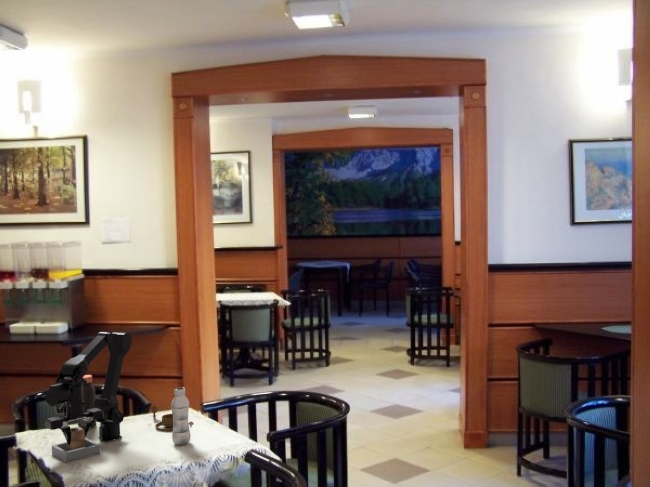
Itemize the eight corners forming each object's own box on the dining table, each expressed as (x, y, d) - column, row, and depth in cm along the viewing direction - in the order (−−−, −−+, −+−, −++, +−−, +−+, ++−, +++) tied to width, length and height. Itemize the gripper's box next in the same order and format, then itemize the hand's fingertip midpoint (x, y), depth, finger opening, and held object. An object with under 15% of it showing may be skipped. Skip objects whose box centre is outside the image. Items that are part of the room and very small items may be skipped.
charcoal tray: (85, 445, 247) (85, 437, 247) (100, 453, 238) (100, 445, 238) (52, 453, 239) (51, 445, 239) (66, 462, 230) (65, 453, 230)
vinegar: (89, 423, 274) (87, 373, 273) (100, 425, 270) (98, 375, 269) (74, 427, 268) (72, 377, 267) (85, 430, 264) (83, 379, 264)
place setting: (146, 435, 259) (145, 419, 259) (149, 419, 279) (149, 405, 279) (193, 431, 263) (193, 416, 262) (193, 416, 282) (193, 402, 282)
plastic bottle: (194, 442, 248) (192, 387, 247) (183, 448, 242) (181, 392, 241) (179, 440, 251) (178, 385, 250) (168, 445, 245) (166, 390, 244)
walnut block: (79, 443, 242) (78, 426, 241) (85, 446, 238) (84, 428, 238) (66, 446, 239) (66, 429, 238) (72, 449, 235) (71, 431, 235)
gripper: (90, 389, 250) (91, 431, 251) (38, 399, 237) (39, 444, 238) (103, 394, 242) (105, 438, 242) (50, 405, 229) (52, 451, 230)
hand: (75, 442), depth 238 cm, fingers closed on walnut block, 4 cm apart
